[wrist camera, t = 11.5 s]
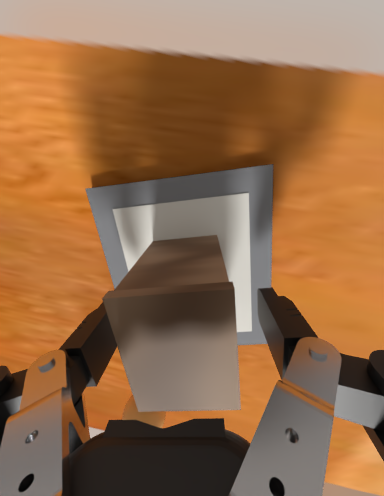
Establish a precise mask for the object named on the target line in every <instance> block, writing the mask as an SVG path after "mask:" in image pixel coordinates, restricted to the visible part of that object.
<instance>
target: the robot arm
mask: <svg viewBox="0 0 384 496" xmlns="http://www.w3.org/2000/svg"><path fill="white" fill-rule="evenodd" d="M257 304H258V319H259V323H260V325H261V328H262V330H263V333H264V336H265V338H266V341H267V343H268V346H269V349H270V351H271V354H272V356H273V359H274V361H275V364H276V367H277V369H278V372H279V374H280V377H281V379H282V381H281V380H278V382H277V383H276V385H275V387H274V390H273V392H272V394H271V397H270V399H269V402H268V404H267V406H266V409H265V411H264V413H263V416H262V418H261V421H260V423H259V425H258V428H257V430H256V432H255V435H254V437H253V439H252V442H251V444H250V443H249V442H248V441H247V440H245V439H244V438H242V437H241V436H239V435H237V434H235V433H233V432H231V431H228V430H225V425H224V418H222V419H192V420H189V421H186V422H183V423H180V424H177V425H174V426H171V427H168V428H159V427H156V426H153V425H150V424H147V423H144V422H141V421H138V420H109V422H108V424H107V427H106V429H105V432H103V433H101V434H99V435H97V436H95V437H93V438H91V439H90V435H89V427H88V419H87V412H86V404H85V396H84V394H83V391H84V389H85V388H86V387H91V386H97V384H98V382H99V380H100V378H101V376H102V375H103V373H104V371H105V369H106V367H107V365H108V363H109V361H110V359H111V357H112V355H113V353H114V351H115V349H116V347H117V343H116V340H115V337H114V334H113V331H112V328H111V325H110V321H109V318H108V315H107V312H106V309H105V306H104V303H102V304H101V305H100V306H99V307H98V309H96V310H94V311H93V312H91V313H90V314H89V315H88V316H87V317H86V318H85V319H84V320H83V321H82V323H81V324H80V325H79V326H78V327H77V329H76V330H75V331H74V332H73V333H72V334H71V336H70V337H69V338H68V339H67V340H66V342H65V343H64V344H63V345H62V346H61V347H60V349H59V350H54V351H51V352H48V353H46V354H44V355H42V356H41V357H39V358H38V359H37V360H36V361H34V362H33V363H32V364H31V366H30V367H29V368H28V369H26V370H23V371H20V372H16V373H13V374H11V373H10V371H9V369H8V368H7V367H6V366H0V496H322V492H323V486H324V479H325V472H326V465H327V458H328V452H329V445H330V438H331V431H332V424H333V418H334V416H335V417H338V418H341V419H345V420H348V421H351V422H354V423H357V424H360V425H363V427H364V429H365V430H366V432H367V434H368V435H369V437H370V439H371V440H372V442H373V444H374V446H375V447H376V449H377V451H378V452H379V454H380V456H381V457H382V459H383V461H384V350H377V351H374V352H372V353H371V354H370V356H369V359H364V358H359V357H354V356H349V355H345V354H342V353H339V351H338V350H337V349H336V348H335V347H334V346H333V345H332V344H330V343H329V342H327V341H325V340H322V339H320V338H318V337H317V335H316V334H315V332H314V331H313V330H312V328H311V327H310V325H309V324H308V323H307V321H306V320H305V319H304V317H303V316H302V315H301V313H300V312H299V310H297V307H296V306H295V305H294V303H293V302H292V301H291V300H289V299H288V298H286V297H285V296H278V295H277V294H276V292H275V291H274V289H273V288H272V287H271V288H258V290H257Z"/></svg>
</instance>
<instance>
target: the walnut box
mask: <svg viewBox="0 0 384 496" xmlns="http://www.w3.org/2000/svg"><path fill="white" fill-rule="evenodd" d="M102 299H103V303H104V306H105V309H106V312H107V315H108V318H109V321H110V325H111V328H112V331H113V334H114V337H115V340H116V343H117V346H118V350H119V353H120V356H121V359H122V362H123V365H124V368H125V371H126V375H127V378H128V381H129V384H130V387H131V390H132V393H133V396H134V400H135V403H136V406H137V409H138V412H152V411H203V410H241V405H240V385H239V365H238V346H237V326H236V306H235V288H234V285H233V282H229V279H228V275H227V271H226V267H225V264H224V260H223V256H222V252H221V248H220V244H219V240H218V237H217V235H210V236H200V237H189V238H179V239H169V240H159V241H153V242H152V243H151V244H150V245H149V247H148V248H147V249H146V250H145V252H144V253H143V254H142V256H141V257H140V258H139V259H138V261H137V262H136V263H135V264H134V266H133V267H132V268H131V269H130V271H129V272H128V273H127V274H126V276H125V277H124V278H123V280H122V281H121V282H120V283H119V285H118V286H117V287H116V288H115V290H114V291H108V292H107V294H106V295H105V296H104V297H103V298H102Z"/></svg>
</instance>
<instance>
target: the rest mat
mask: <svg viewBox="0 0 384 496" xmlns="http://www.w3.org/2000/svg"><path fill="white" fill-rule="evenodd" d="M86 192H87V196H88V199H89V203H90V206H91V209H92V213H93V216H94V220H95V223H96V226H97V230H98V233H99V237H100V240H101V244H102V247H103V250H104V254H105V257H106V261H107V264H108V267H109V271H110V274H111V278H112V281H113V284H114V288H116V287H117V286H118V285H119V283H120V282H121V281H122V280H123V278H124V277H125V276H126V274H127V273H128V272H129V271H130V269H131V268H132V267H133V266H134V264H135V263H136V262H137V261H138V259H139V258H140V257H141V256H142V254H143V253H144V252H145V250H146V249H147V248H148V247H149V245H150V244H151V243H152V242H153V241H159V240H169V239H179V238H189V237H200V236H210V235H217V237H218V240H219V244H220V248H221V252H222V256H223V260H224V264H225V267H226V271H227V275H228V279H229V282H233V285H234V288H235V306H236V326H237V345H251V344H268V343H267V341H266V338H265V336H264V333H263V330H262V328H261V325H260V323H259V319H258V304H257V290H258V288H271V263H272V204H273V164H271V165H263V166H255V167H248V168H240V169H233V170H225V171H217V172H210V173H202V174H195V175H187V176H180V177H172V178H164V179H157V180H149V181H142V182H134V183H126V184H119V185H111V186H104V187H96V188H88V189H86Z"/></svg>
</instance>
